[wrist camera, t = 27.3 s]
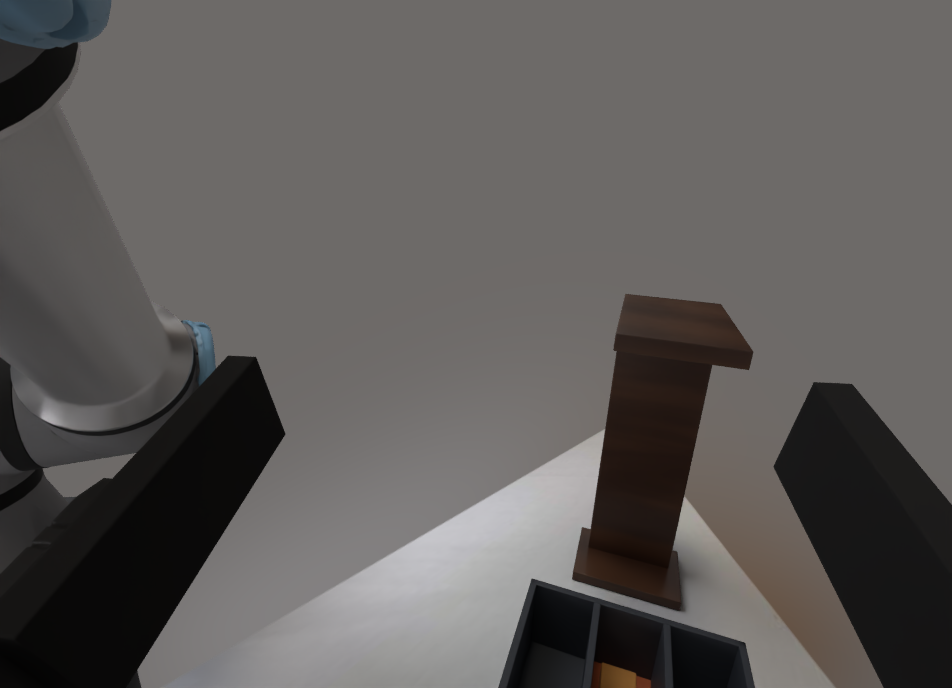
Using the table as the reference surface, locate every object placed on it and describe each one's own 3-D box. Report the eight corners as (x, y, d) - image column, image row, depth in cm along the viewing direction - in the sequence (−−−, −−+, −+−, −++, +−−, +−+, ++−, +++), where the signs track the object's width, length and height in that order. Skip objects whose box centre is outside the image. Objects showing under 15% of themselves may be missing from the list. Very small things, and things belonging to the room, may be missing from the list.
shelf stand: (685, 692, 36) (772, 354, 28) (557, 648, 40) (600, 331, 31) (675, 559, 50) (732, 303, 41) (581, 534, 53) (614, 290, 44)
